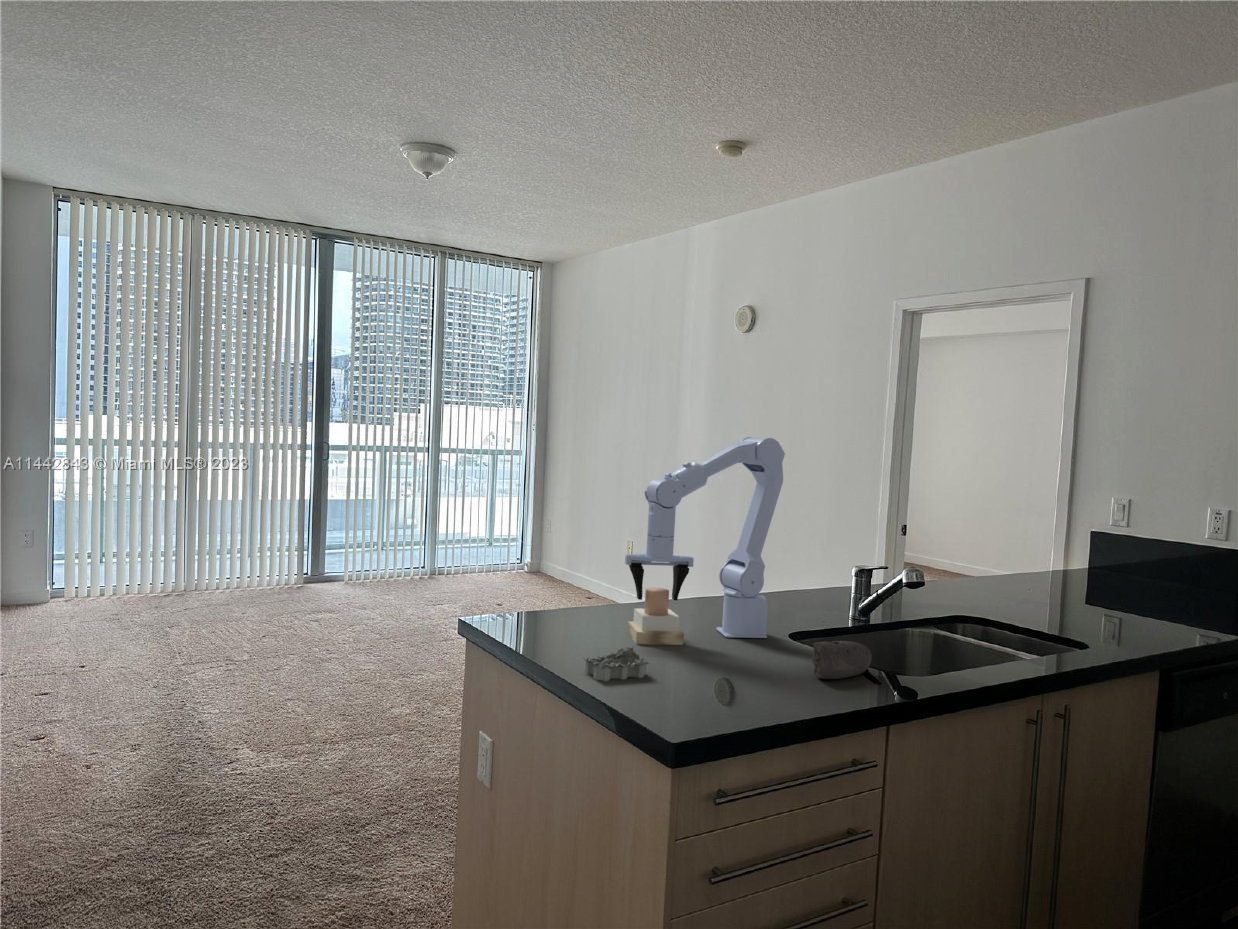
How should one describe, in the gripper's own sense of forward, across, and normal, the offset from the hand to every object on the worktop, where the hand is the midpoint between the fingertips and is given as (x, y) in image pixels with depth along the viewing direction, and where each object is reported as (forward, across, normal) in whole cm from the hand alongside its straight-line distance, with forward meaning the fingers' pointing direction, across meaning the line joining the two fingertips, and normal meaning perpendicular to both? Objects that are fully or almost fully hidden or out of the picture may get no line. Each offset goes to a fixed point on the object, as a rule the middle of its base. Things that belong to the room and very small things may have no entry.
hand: (657, 599), depth 175 cm
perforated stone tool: (+9, -30, +27) cm, 41 cm away
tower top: (+6, 0, 0) cm, 6 cm away
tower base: (+9, 0, 0) cm, 9 cm away
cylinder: (+3, 0, 0) cm, 3 cm away
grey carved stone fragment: (+9, +13, +26) cm, 31 cm away
